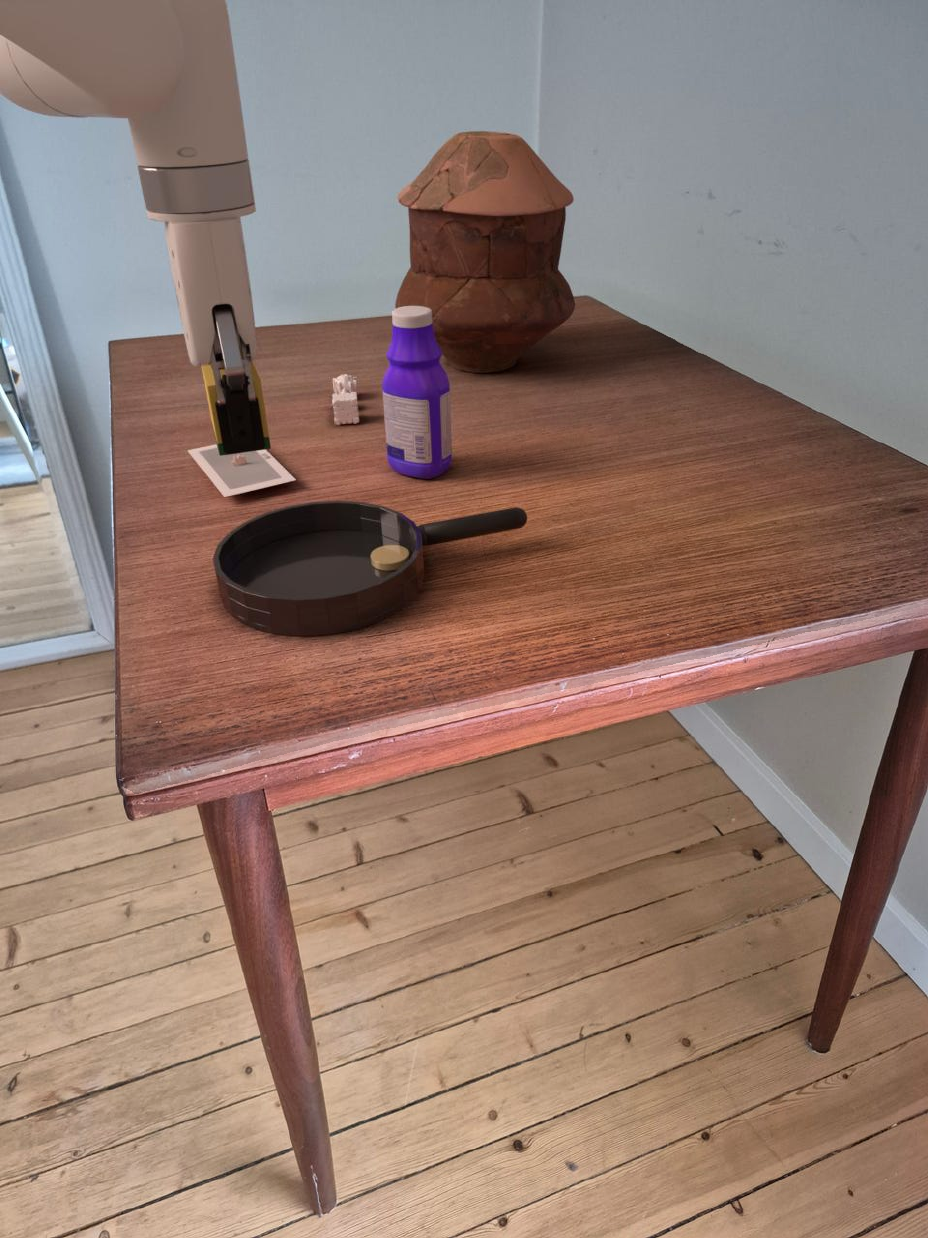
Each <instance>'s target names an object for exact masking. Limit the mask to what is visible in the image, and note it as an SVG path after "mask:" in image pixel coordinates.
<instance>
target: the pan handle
mask: <svg viewBox="0 0 928 1238" xmlns="http://www.w3.org/2000/svg"><path fill="white" fill-rule="evenodd" d="M527 521H528V514H527V512H526V511H525V510H524V509H523V508H521V507H517V506H516V507H510V508H504V509H499V510H493V511H488V512H483V513H477V514H472V515H466V516H460V517H455V518H449V519H444V520H439V521H433V522H427V523H421V524H418V525H416V526H417V527H418V529H419V530H420V532H421V533H422V546H423V547H429V546H435V545H440V544H445V543H450V542H456V541H462V540H466V539H471V538H476V537H482V536H483V537H484V536H487V535H494V534H497V533H505V532H509V531H513V530H514V531H515V530H519V529H522V528H523V527H525V525H526V524H527V523H528V522H527Z"/></svg>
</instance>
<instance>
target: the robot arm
mask: <svg viewBox="0 0 928 1238" xmlns="http://www.w3.org/2000/svg"><path fill="white" fill-rule="evenodd" d="M229 16H230V15H229V9H228V4H227V1H226V0H0V95H1V96H3V97H4V98H5V99H7V100H8V101H10V102H11V103H13V104H14V105H16V106H18V107H20V108H22V109H24V110H26V111H29V112H31V113H32V112H33V113H35V114H39V115H43V116H47V117H55V118H56V117H58V118H78V119H79V118H80V119H81V118H82V119H83V118H112V119H127V120H128V126H129V131H130V135H131V136H130V137H131V140H132V146H133V151H134V156H135V159H136V165H137V170H138V175H139V181H140V185H141V191H142V195H143V200H144V206H145V209H146V215H147V219H148V220H150V221H154V222H162V223H164V231H165V237H166V246H167V252H168V259H169V265H170V269H171V275H172V276H171V277H172V281H173V285H174V291H175V296H176V301H177V306H178V311H179V316H180V321H181V327H182V331H183V336H184V341H185V346H186V351H187V354H188V355H187V356H188V358H189V361H190V364H191V365H192V366H193V367H196V368H197V369H199V368H200V369H202V367H201V366H202V364H205V363H206V364H207V365H211V369H212V372H213V377H214V382H215V387H216V393H217V398H218V402H217V403H215V407H216V412H217V418H218V423H219V429H220V434H221V440H222V445H223V450H224V452H225V453H226V454H234V453H241V452H248V451H255V450H262V449H263V448H264V447H265V440H264V433H263V427H262V421H261V414H260V408H259V401H258V398H257V397H255V391H254V386H253V380H252V375H251V369H250V362H253V361H254V360H255V359H256V358H257V357H258V342H257V332H256V331H257V330H256V320H255V312H254V303H253V295H252V287H251V280H250V279H251V278H250V273H249V272H250V271H249V265H248V259H247V252H246V246H245V245H246V244H245V239H244V233H243V226H242V225H243V224H242V219H241V217H246V216H249V215H252V214H254V213H255V212H257V207H256V202H255V194H254V193H255V192H254V185H253V180H252V172H251V165H250V164H251V163H250V160H249V154H248V145H247V137H246V131H245V123H244V117H243V116H244V115H243V108H242V102H241V94H240V93H241V92H240V87H239V86H240V85H239V79H238V72H237V66H236V65H237V64H236V58H235V51H234V43H233V35H232V30H231V29H232V28H231V23H230V17H229ZM249 360H250V361H249ZM220 370H225V374H226V375H222V379H221V374H220ZM223 388H224V389H223Z"/></svg>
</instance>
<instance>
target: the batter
mask: <svg viewBox="0 0 928 1238" xmlns="http://www.w3.org/2000/svg"><path fill="white" fill-rule="evenodd" d="M409 559H410V555H409V551H408V550H407V549H406V548H405V547H402V546H398V545H386V546H382V547H379V548H377V549H375V550H374V551H373V552H372V553H371V564H372V565H373V567H375V568H376V569H379V570H384V571H393V570H398V569H399V568H401V567H402V566H403V565H404V564H405V563H406V562H407V561H408V560H409Z"/></svg>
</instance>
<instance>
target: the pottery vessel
mask: <svg viewBox="0 0 928 1238" xmlns="http://www.w3.org/2000/svg"><path fill="white" fill-rule="evenodd" d="M396 198H397V201H398V203H399V204H400V205H401V206H403V207H405V208H408V209H407V211H408V212H407V213H408V222H409V223H408V225H409V260H410V261H409V262H410V268H409V269H408V270H407V272H406V274H405V276H404V278H403V280H402V282H401V284H400V287H399V289H398V292H397V295H396V299H395V306H394V309H396V308H399V307H404V306H423V307H427V308H430V309H431V310H432V320H433V332H434V336H435V339H436V342H437V344H438V346H439V348H440V349H441V351H442V355H441V356H442V357H444V358H445V359H446V360H447V362H448V363H449V365H450V366H451V367H452V368H453V369H455V370H458V371H462V372H466V373H471V374H472V373H473V374H485V373H497V372H502V371H506V370H508V369H510V368H512V367H514V366H515V365H516V364H517V361H518V358H519V357H521V355H523V354H524V353H525V352H526V351H527V350H529V349H531V348H532V347H533V346H534V345H536V344H537V343H538V342H539V341H541V340H542V339H544V338H545V336H547V335H549V334H550V333H551V332H553V331H554V330H556V329H557V328H559V327H560V326H561V325H563V324H564V323H566V322H567V321H568V320H569V319H570V318H571V316H572V315H573V314H574V311H575V310H576V302H575V297H574V294H573V291H572V289H571V286H570V283H569V282H568V281H567V279H566V278H565V275H563V274H562V272H561V271H560V269H559V265H560V260H561V254H562V246H563V240H564V233H565V225H566V218H567V212H566V211H567V210H566V209H567V208H566V207H569V206H571V205H572V204H573V202H574V200H575V199H574V195H573V193H572V192H571V191H570V189H569V188H568V187H566V185H564V183H562V182H561V181H560V180H559V179H558V178H557V176H556V175H555V174H554V173H553V172H552V171H551V169H549V167H548V166H547V165H546V163H545V162H544V161H543V160H542V159H541V157H539V155H538V154H537V153H536V152H535V150H534V149H533V148H532V147H531V146H530V144H529V143H528V142H527V141H525V139H524V138H522V137H521V136H520V135H517V134H514V133H509V132H498V131H486V130H475V131H474V130H473V131H471V130H470V131H462V132H457V133H455V134H454V135H453V136H452V137H450V138H449V139H447V141H446V142H445V143H444V144H443V145H441V146H440V147H439V148H438V150H437V151H436V152H435V153H434V154H433V156H432V157H431V159H430V161H428V163H427V165H426V166H425V167H424V168H423V169H422V171H421V172H420V173H419V174H418V175H417V176H416V177H415V178H414V179H413V180H412V181H411V182H410V183H409V184H407V185H406V186H404V187H403V188H402V189H401V190H400V191H399V192H398V194H397V197H396Z"/></svg>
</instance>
